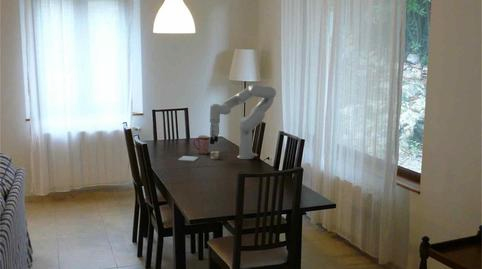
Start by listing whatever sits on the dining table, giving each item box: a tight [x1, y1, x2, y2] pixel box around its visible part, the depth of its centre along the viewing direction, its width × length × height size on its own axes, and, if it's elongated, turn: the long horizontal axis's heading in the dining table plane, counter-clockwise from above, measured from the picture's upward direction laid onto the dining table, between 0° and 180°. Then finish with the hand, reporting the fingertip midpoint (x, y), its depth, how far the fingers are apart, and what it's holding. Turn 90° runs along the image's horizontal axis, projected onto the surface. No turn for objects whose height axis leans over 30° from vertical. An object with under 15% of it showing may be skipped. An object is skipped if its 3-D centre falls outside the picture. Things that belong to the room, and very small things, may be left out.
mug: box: [192, 135, 210, 155], centre depth 411 cm, size 13×9×14 cm
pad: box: [177, 155, 199, 162], centre depth 391 cm, size 12×12×1 cm
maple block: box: [210, 150, 220, 160], centre depth 395 cm, size 5×5×5 cm
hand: (213, 142), depth 393 cm, fingers open, 9 cm apart
